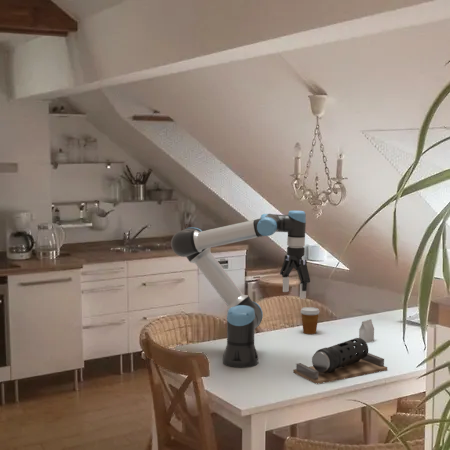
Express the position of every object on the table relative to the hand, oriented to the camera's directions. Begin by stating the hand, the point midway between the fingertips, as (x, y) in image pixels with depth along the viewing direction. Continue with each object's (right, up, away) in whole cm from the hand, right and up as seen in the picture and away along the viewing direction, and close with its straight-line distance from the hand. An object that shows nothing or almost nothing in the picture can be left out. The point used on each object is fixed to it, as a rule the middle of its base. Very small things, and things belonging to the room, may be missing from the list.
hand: (293, 295), depth 297 cm
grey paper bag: (+38, -25, +30) cm, 54 cm away
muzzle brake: (+17, -29, -16) cm, 37 cm away
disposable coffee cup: (+12, -23, +44) cm, 51 cm away
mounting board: (+18, -30, -16) cm, 38 cm away
